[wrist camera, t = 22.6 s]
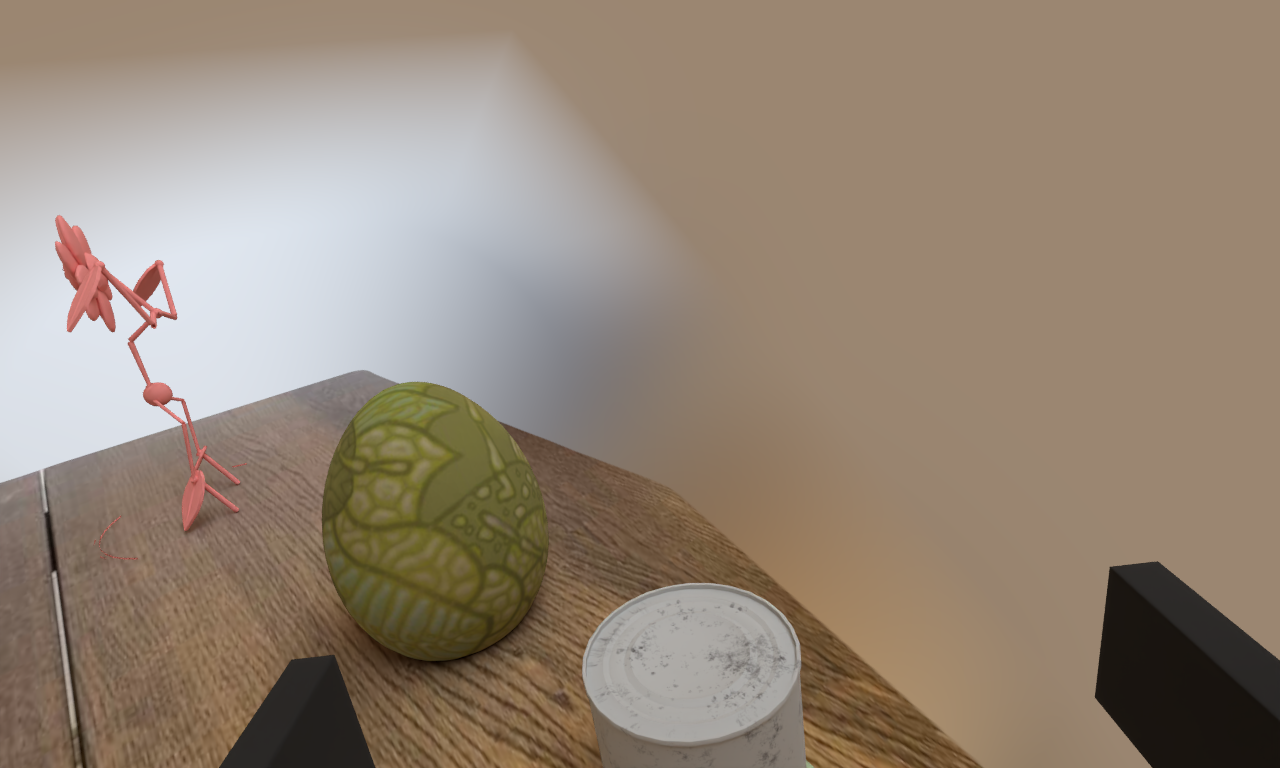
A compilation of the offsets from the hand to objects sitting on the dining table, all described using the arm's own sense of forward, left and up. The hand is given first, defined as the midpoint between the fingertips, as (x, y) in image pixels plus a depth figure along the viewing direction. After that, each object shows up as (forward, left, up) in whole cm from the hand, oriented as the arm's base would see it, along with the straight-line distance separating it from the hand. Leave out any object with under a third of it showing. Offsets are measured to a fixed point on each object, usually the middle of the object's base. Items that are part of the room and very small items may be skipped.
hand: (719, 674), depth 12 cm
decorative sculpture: (-2, -41, -26) cm, 48 cm away
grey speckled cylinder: (-7, -13, -25) cm, 29 cm away
